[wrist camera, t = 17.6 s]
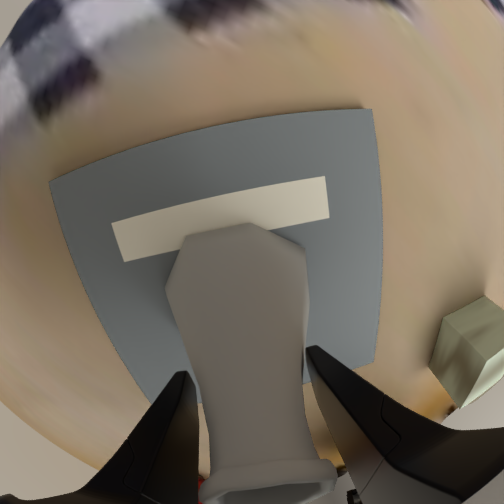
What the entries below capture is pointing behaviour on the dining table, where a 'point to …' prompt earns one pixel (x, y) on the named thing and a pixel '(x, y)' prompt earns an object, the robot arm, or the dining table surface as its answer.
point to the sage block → (470, 350)
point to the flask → (249, 363)
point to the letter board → (225, 215)
